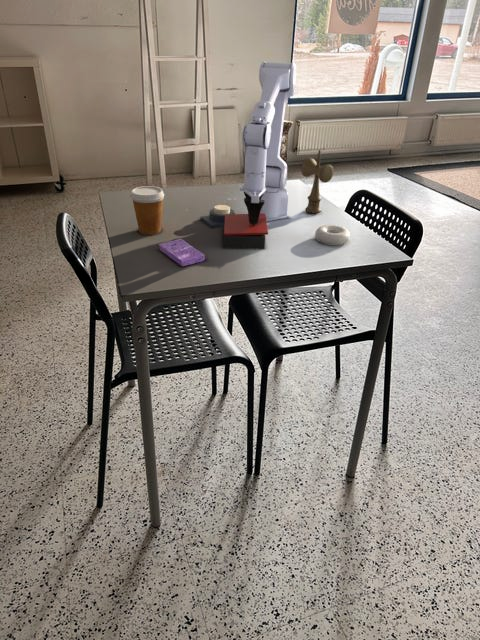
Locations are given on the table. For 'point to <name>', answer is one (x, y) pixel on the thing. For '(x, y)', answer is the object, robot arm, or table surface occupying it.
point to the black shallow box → (244, 241)
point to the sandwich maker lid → (244, 225)
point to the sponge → (182, 252)
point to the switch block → (215, 219)
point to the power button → (221, 209)
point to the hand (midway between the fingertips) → (253, 219)
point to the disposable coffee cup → (148, 208)
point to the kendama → (316, 181)
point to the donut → (332, 235)
